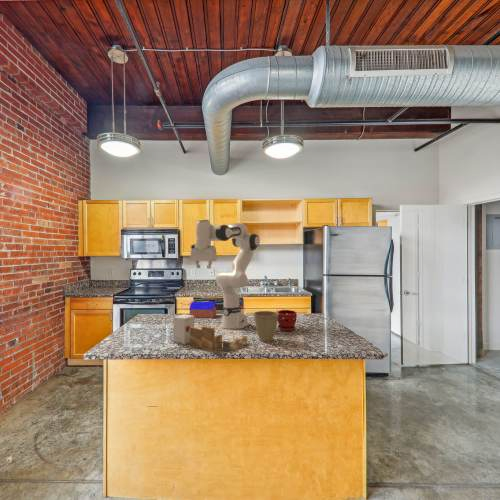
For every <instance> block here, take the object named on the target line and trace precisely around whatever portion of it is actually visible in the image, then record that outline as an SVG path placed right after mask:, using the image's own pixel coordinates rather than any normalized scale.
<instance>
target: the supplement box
mask: <svg viewBox="0 0 500 500" xmlns="http://www.w3.org/2000/svg"><path fill="white" fill-rule="evenodd" d="M172 323H173V325H172V326H173V328H172V329H173V330H172V333H173V334H172V336H173V337H172V338H173V340H172V342H173V343H176V344H182V345H186V344H190V327H195V318H194V316H193V315H190V314H186V313H185V314H184V313H183V314H180V315H175V316H173V322H172Z"/></svg>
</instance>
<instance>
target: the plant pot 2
mask: <svg viewBox="0 0 500 500" xmlns="http://www.w3.org/2000/svg"><path fill="white" fill-rule="evenodd" d="M277 313H278V314H279V315H278V322H277V325H278V326H277V328H278V329H279V330H280V331H285V332H291V331H293V330H295V329H296V326H295V325H296V322H297V316H298V315H297V312H296V311H294V310H290V309H281V310H278V311H277Z"/></svg>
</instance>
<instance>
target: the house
mask: <svg viewBox="0 0 500 500" xmlns="http://www.w3.org/2000/svg"><path fill="white" fill-rule="evenodd" d="M188 310H189V315H193V316H194V319H195V318H196V319H199V318H201V319H202V318H204V319H214V318H215V317H216V316H217V304H216V302H215V301H191V302H190V305H189V309H188ZM214 316H215V317H214ZM213 317H214V318H213Z"/></svg>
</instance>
